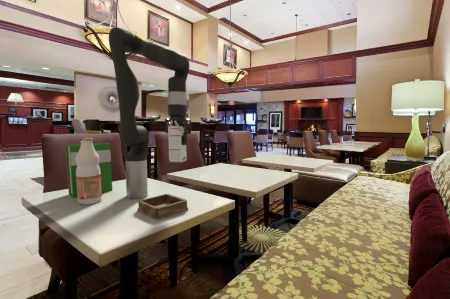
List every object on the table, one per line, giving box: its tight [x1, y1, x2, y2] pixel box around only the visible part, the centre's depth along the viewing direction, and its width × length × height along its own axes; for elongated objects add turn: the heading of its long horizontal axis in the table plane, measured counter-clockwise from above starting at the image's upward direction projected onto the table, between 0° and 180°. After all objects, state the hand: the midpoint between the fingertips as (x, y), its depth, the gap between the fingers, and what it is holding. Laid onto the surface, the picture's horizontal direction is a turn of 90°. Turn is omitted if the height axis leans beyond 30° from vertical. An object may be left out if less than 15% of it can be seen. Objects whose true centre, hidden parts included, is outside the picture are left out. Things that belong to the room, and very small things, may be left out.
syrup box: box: [167, 126, 188, 163], centre depth 103 cm, size 6×6×14 cm
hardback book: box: [65, 142, 113, 199], centre depth 123 cm, size 18×7×24 cm, turn 135°
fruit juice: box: [75, 137, 103, 205], centre depth 108 cm, size 9×9×28 cm
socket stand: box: [137, 193, 189, 221], centre depth 99 cm, size 14×14×4 cm
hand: (177, 144), depth 103 cm, fingers closed on syrup box, 7 cm apart
